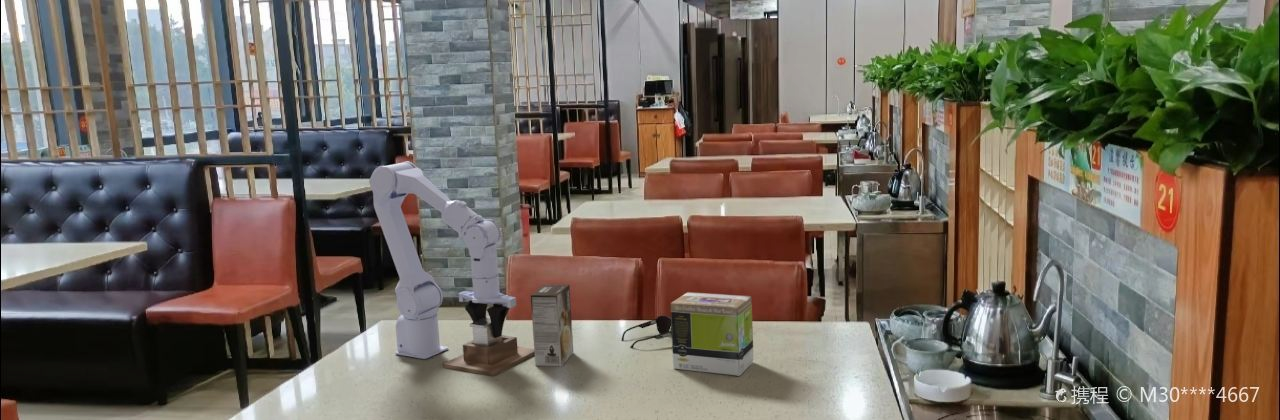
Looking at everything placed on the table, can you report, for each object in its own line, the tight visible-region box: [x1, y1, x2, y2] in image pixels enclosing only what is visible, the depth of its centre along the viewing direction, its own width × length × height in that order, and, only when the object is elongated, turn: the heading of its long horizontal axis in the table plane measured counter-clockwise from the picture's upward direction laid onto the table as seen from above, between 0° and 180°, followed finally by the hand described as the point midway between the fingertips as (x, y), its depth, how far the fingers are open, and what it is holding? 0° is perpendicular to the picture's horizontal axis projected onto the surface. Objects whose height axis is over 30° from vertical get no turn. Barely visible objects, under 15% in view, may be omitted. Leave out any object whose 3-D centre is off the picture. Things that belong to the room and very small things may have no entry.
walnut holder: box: [442, 334, 535, 377], centre depth 193 cm, size 14×16×4 cm
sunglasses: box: [621, 315, 672, 349], centre depth 203 cm, size 10×12×5 cm
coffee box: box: [530, 284, 574, 367], centre depth 191 cm, size 9×6×16 cm
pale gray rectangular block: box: [469, 315, 503, 347], centre depth 192 cm, size 4×7×7 cm, turn 151°
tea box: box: [670, 291, 754, 377], centre depth 183 cm, size 15×10×15 cm
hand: (489, 335), depth 193 cm, fingers closed on pale gray rectangular block, 4 cm apart
